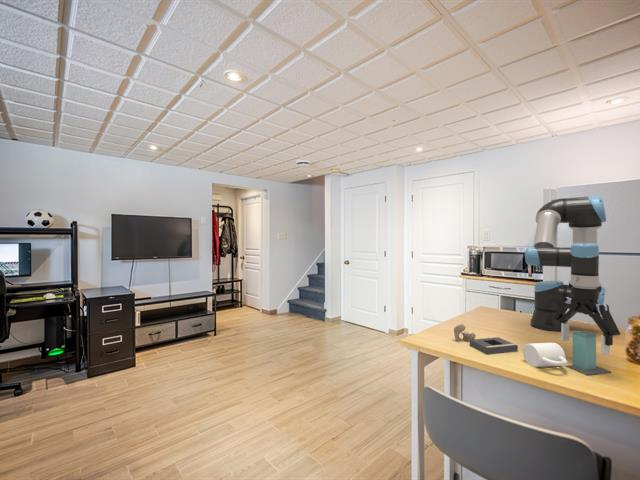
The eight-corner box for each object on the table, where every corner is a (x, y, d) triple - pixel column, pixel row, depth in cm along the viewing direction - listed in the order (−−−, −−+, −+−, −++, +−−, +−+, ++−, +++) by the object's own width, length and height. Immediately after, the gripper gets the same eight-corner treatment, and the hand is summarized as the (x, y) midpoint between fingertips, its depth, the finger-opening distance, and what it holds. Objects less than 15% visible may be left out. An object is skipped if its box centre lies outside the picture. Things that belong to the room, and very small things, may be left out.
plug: (572, 364, 110) (572, 331, 110) (582, 363, 111) (582, 330, 111) (585, 370, 106) (585, 335, 105) (596, 368, 107) (596, 334, 106)
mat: (580, 360, 114) (580, 359, 114) (611, 372, 104) (611, 371, 104) (558, 363, 112) (558, 362, 112) (587, 375, 102) (587, 374, 102)
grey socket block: (498, 344, 133) (498, 336, 133) (517, 352, 123) (517, 344, 123) (469, 346, 130) (469, 339, 130) (487, 355, 120) (487, 347, 120)
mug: (522, 361, 114) (522, 340, 114) (547, 360, 115) (547, 339, 115) (549, 376, 102) (549, 352, 102) (576, 375, 103) (576, 351, 103)
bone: (475, 336, 138) (474, 320, 134) (476, 347, 133) (475, 331, 129) (454, 335, 142) (453, 319, 137) (455, 346, 137) (453, 330, 132)
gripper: (543, 282, 119) (543, 336, 120) (616, 294, 95) (616, 362, 95) (558, 281, 121) (558, 334, 121) (635, 293, 96) (635, 360, 97)
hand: (584, 347), depth 108 cm, fingers open, 13 cm apart
